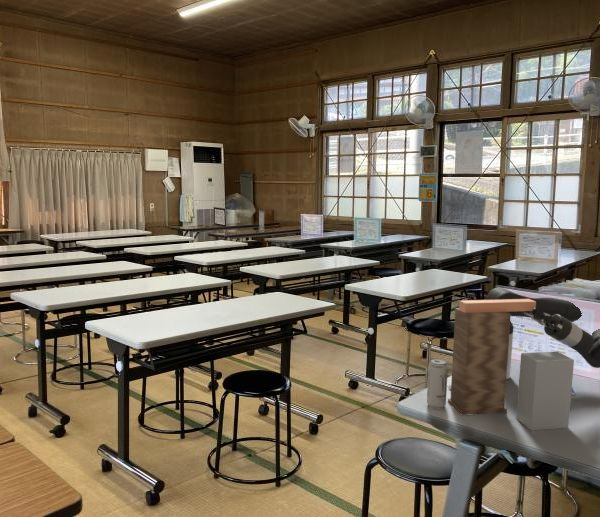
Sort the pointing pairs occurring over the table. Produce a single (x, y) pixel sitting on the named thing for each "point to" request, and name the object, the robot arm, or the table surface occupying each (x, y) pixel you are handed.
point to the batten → (496, 305)
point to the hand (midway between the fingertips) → (525, 307)
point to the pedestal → (480, 362)
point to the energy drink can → (437, 384)
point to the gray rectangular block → (545, 390)
